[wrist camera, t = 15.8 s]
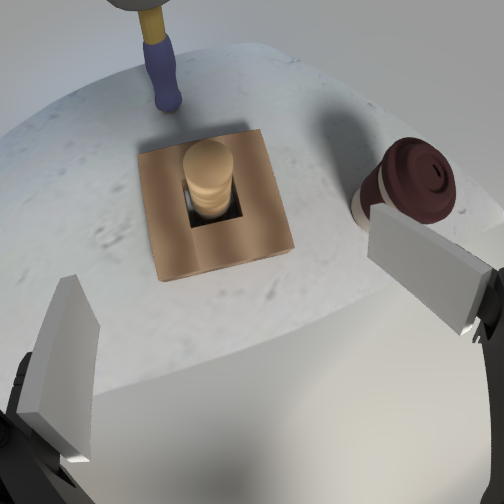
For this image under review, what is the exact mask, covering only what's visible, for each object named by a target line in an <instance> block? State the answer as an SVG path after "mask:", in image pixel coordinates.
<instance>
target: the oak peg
mask: <svg viewBox="0 0 504 504" xmlns="http://www.w3.org/2000/svg"><path fill="white" fill-rule="evenodd" d="M183 169H184V172H185V176H186V180H187V184H188V187H189V191H190V195H191V203H192V206H193V208H194V210H195V213H196V215H197V217H198V219H199V220H200V221H201V222H203V223H205V224H212V223H217V222H221V221H223V220H224V219H225V218H226V217H227V215H228V212H229V206H230V203H231V182H232V172H233V156H232V153H231V152H230V150H229V149H228V148H227V147H226V146H225V145H224V144H222V143H220V142H217V141H213V140H206V141H201V142H198V143H196V144H194V145H193V146H191V147H190V148H189V149H188V151H187V152H186V154H185V156H184V159H183Z"/></svg>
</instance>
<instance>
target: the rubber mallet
mask: <svg viewBox="0 0 504 504" xmlns="http://www.w3.org/2000/svg"><path fill="white" fill-rule="evenodd" d="M107 1H108V2H110V3H111V4H112V5H114V6H115V7H117V8H120V9H123V10H126V11H138V15H139V19H140V24H141V29H142V34H143V38H144V42H143V50H144V58H145V64H146V69H147V72H148V74H149V76H150V78H151V80H152V83H153V87H154V91H155V103H156V107H157V108H158V109H159V110H161V111H162V112H164V113H172V112H174V111H175V110H177V109H178V107H179V106H180V104H181V102H182V97H181V93H180V91H179V90H178V87H177V81H176V61H175V56H174V52H173V48H172V44H171V41H170V38H169V37H168V35H167V34H166V33H165V27H164V21H163V15H162V9H161V5H163V4H164V3H166V2H168V1H169V0H107Z"/></svg>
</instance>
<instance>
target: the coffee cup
mask: <svg viewBox="0 0 504 504" xmlns="http://www.w3.org/2000/svg"><path fill="white" fill-rule="evenodd" d="M455 199H456V186H455V181H454V175H453V172H452V169H451V167H450V165H449V163H448V161H447V160H446V158H445V157H444V156H443V155H442V154H441V153H440V152H439V151H438V150H437V149H435V148H434V147H433V146H431V145H430V144H428V143H427V142H425V141H423V140H421V139H417V138H412V137H406V138H402V139H400V140H398V141H396V142H395V143H394V144H393V145H392V146H391V147H389V149H388V150H387V151H386V153H385V154H384V157H383V160H382V161H381V162H380V163H379V164H378V166H377V167H376V168H375V169H374V170H373V171H372V172H371V173H370V175H369V176H368V177H367V178H366V179H365V180H364V182H363V184H362V186H361V187H360V188H359V189H358V190H357V191H356V192H355V194H354V196H353V199H352V203H351V210H352V214H353V217H354V219H355V221H356V223H357V224H358V225H359V226H360V227H361V228H362V229H363V230H365V231H366V232H368V233H369V227H370V207H371V205H374V204H379V203H384V204H386V205H388V206H390V207H392V208H394V209H396V210H397V211H399V212H401V213H403V214H405V215H407V216H408V217H410V218H412V219H414V220H416V221H417V222H419V223H421V224H433V223H436V222H438V221H441V220H443V219H444V218H446V217H447V216H448V215H449V214H450V213H451V211H452V209H453V207H454V204H455Z"/></svg>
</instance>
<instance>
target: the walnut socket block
mask: <svg viewBox="0 0 504 504" xmlns="http://www.w3.org/2000/svg"><path fill="white" fill-rule="evenodd" d="M206 140H213V141H217V142H220V143H222V144H224V145H225V146H226V147H227V148H228V149H229V150H230V152H231V153H232V156H233V172H232V182H231V187H232V191H233V194H234V198H235V202H236V206H237V210H238V214H239V218H234V219H230V220H225V221H221V222H217V223H212V224H208V225H204V226H199V227H195V228H192V225H191V221H190V216H189V211H188V206H187V201H186V197H185V192H184V191H187V190H189V187H188V184H187V180H186V176H185V172H184V169H183V159H184V156H185V154H186V152H187V151H188V149H189V148H190V147H191V146H193V145H194V144H196V143H198V142H201V141H206ZM137 156H138V164H139V172H140V179H141V187H142V194H143V200H144V207H145V213H146V219H147V225H148V230H149V236H150V241H151V247H152V252H153V257H154V262H155V267H156V272H157V276H158V280H159V281H162V282H168V281H172V280H177V279H181V278H185V277H189V276H194V275H198V274H202V273H206V272H211V271H215V270H219V269H223V268H227V267H232V266H236V265H240V264H244V263H248V262H252V261H256V260H261V259H265V258H269V257H273V256H277V255H281V254H285V253H288V252H290V251H291V250H292V249H294V248H295V247H294V243H293V239H292V236H291V232H290V229H289V225H288V221H287V218H286V214H285V211H284V207H283V204H282V200H281V197H280V194H279V190H278V187H277V183H276V180H275V177H274V173H273V170H272V167H271V163H270V160H269V157H268V154H267V150H266V147H265V144H264V141H263V137H262V134H261V131H260V129H257V130H250V131H244V132H238V133H233V134H227V135H222V136H216V137H211V138H206V139H201V140H197V141H192V142H187V143H183V144H179V145H174V146H170V147H166V148H162V149H158V150H154V151H150V152H146V153H142V154H139V155H137Z"/></svg>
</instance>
